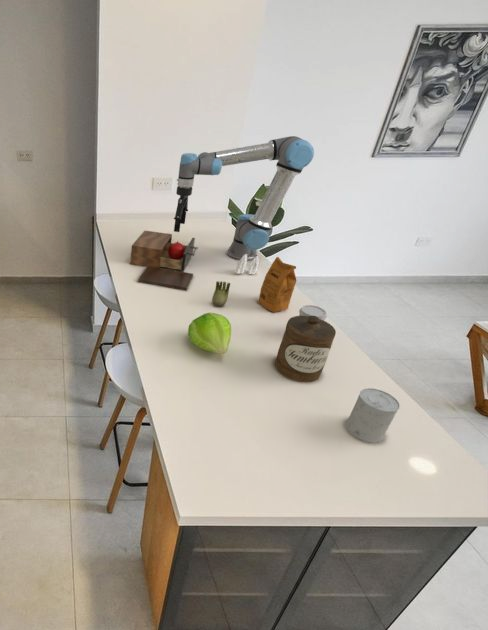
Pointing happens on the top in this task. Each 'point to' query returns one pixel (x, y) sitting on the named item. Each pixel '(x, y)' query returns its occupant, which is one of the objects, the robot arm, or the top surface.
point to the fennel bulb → (220, 294)
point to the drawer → (180, 263)
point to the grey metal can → (372, 415)
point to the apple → (176, 251)
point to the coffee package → (278, 286)
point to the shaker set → (252, 267)
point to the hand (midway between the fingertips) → (179, 227)
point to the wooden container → (304, 348)
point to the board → (166, 278)
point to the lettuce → (211, 332)
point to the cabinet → (149, 248)
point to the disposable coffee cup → (313, 311)
